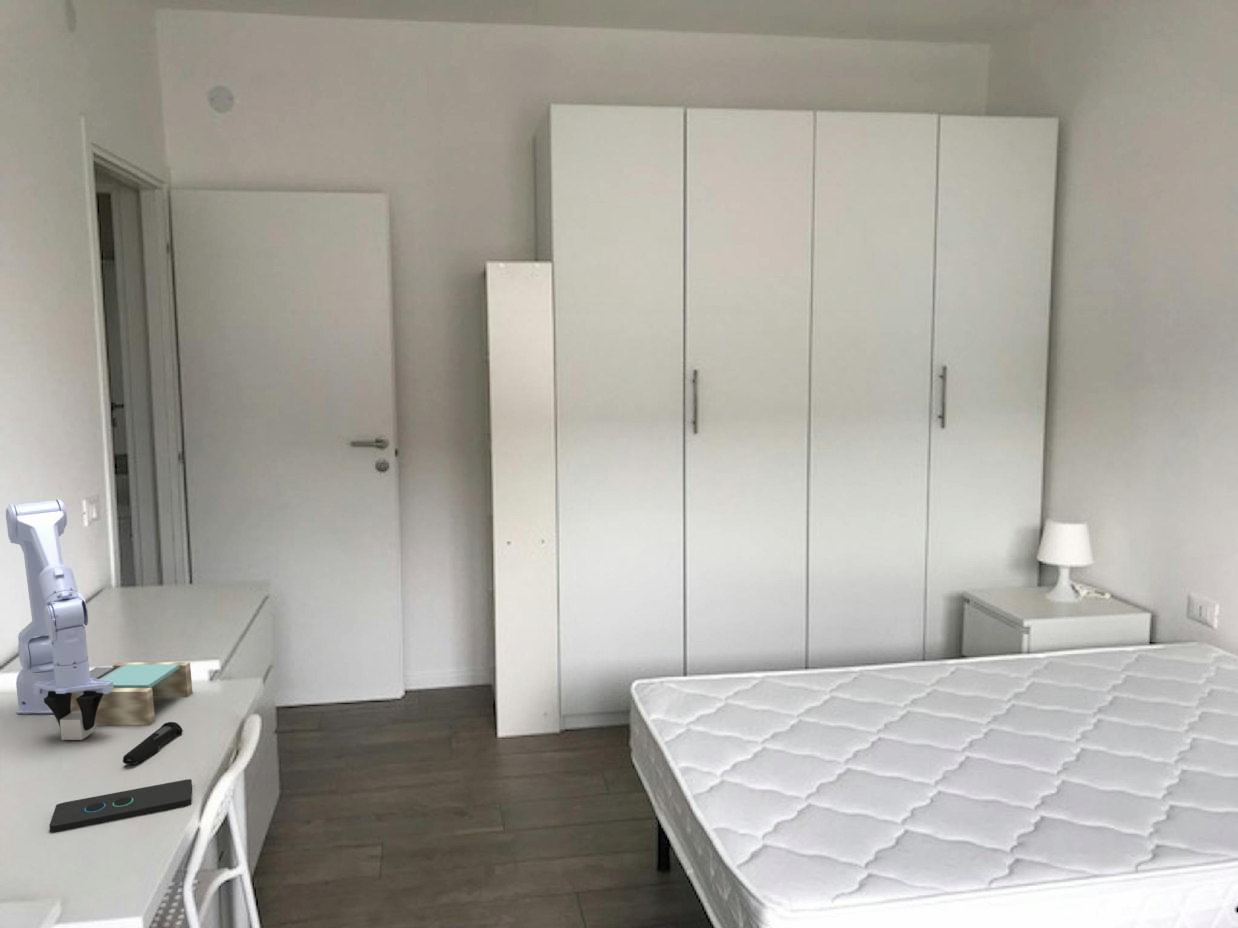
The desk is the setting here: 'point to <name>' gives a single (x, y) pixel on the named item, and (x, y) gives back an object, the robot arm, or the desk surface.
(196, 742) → the desk surface
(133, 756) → the electric trimmer
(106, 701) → the rail stand
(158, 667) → the trapdoor
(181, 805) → the smart home device
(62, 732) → the gray cube
